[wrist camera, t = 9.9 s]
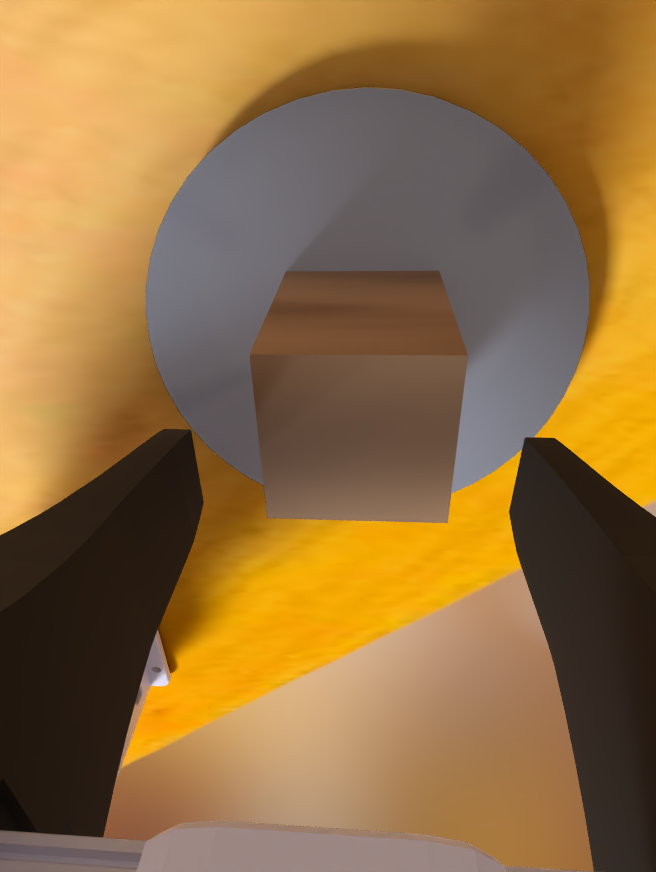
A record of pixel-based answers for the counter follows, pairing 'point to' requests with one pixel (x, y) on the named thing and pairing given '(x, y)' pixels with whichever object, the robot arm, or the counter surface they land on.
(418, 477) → the walnut stool block
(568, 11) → the counter surface
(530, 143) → the counter surface
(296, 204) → the plate
